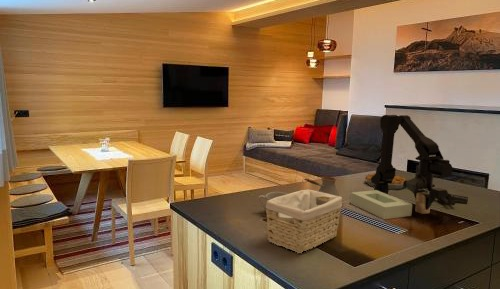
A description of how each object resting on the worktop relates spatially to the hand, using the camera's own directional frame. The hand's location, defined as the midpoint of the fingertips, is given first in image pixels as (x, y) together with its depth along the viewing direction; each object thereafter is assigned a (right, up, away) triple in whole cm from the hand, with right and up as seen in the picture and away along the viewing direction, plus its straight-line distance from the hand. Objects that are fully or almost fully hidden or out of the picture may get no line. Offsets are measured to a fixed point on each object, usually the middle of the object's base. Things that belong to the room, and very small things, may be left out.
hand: (422, 207), depth 155 cm
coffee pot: (-43, -1, +2) cm, 44 cm away
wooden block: (0, -2, 0) cm, 2 cm away
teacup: (-63, -2, -5) cm, 64 cm away
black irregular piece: (+16, -1, +12) cm, 20 cm away
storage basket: (-55, -6, -30) cm, 63 cm away
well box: (-17, -1, +3) cm, 18 cm away
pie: (+1, +4, +45) cm, 45 cm away
